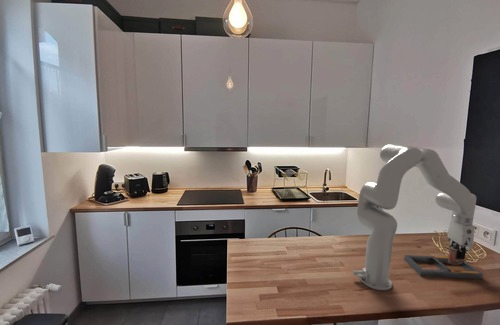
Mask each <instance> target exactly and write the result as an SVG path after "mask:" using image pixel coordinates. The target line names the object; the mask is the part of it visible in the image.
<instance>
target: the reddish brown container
mask: <svg viewBox="0 0 500 325" xmlns="http://www.w3.org/2000/svg"><path fill="white" fill-rule="evenodd" d="M462 248H464V246H462ZM449 249H450V253H449V254H448V255H449V256H448V257H449V260H448V263H447V264H450V265H453V266H454V265H455V266H457V265H459V264H462V263H464V261H465V259H457V251H459V244H458V243H456V242H455V243H453V246H452V247H450V246H449Z"/></svg>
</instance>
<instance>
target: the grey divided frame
mask: <svg viewBox="0 0 500 325" xmlns="http://www.w3.org/2000/svg"><path fill="white" fill-rule="evenodd" d="M403 260H404V261H405V262H406V263H407V264H408V265H409V266H410V267H411V268H412V269H413V270H414V271H415V272H416V273H417V274H418V275H419V276H420V277H434V278H451V279H452V278H454V279H472V280H478V279H479V280H483V277H484V273H482V272H481V271H480V270H478V269H477V268H476V267H474V266H472V265H471V264H470V263H468V262H467V261H466V260H464V263H462V264H458V265H459V266H461V267H462V268H464V269H465V270H458V269H457V270H453V269H450V268H448V267H447V266H446V265H445V264H449V263H448V260H449V256H447V255H445V256H442V255H440V256H439V255H434V256H433V255H415V254H414V255H413V254H411V255H409V254H404V257H403ZM417 262H418V263H432V264H433V265H434V266H435V267H437V268H438V269H425V268H422V267H421V266H420V265H419V264H418V263H417Z"/></svg>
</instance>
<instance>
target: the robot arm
mask: <svg viewBox="0 0 500 325" xmlns="http://www.w3.org/2000/svg"><path fill="white" fill-rule="evenodd" d="M379 156H380V159H381V161H383V162H384V163H385V164H384V165H382V167H381V169H380V170H379V173H378V177H377V181H368V182H366V183H364V184H363V186H361V189H360V192H359V196H358V201H357V202H358V203H357V209H356V219H357V221H358V222H359V223H360V224H361V225H362V226H364V227H365V228H367V229H369V230H370V231H371V233H370V235H369V236H368V237H367V240H366V247H365V249H366V250H365V260H364V267H362V269H360V270H356V269H355V270H352V275H353V276H357V278H358V279H359V280H360V281H361V282H362V284H364V285H365V286H366V287H369V288H371V289H372V290H376V291H388V290H390V289H391V288H392V287H393V281H392V280H391V278H390V270H391V261H392V259H391V258H392V251H393V242H394V238H395V235H396V232H397V230H398V222H397V220H396V217H394V216H393V215H391V214H390V213H388V212H386V211H384V210H388V211H389V210H393V209H394V208H396V207H397V204H398V200H399V195H400V190H401V186H402V185H401V184H402V180H403V178H404V176H405V175H406V173H408V172H409V171H410V170H411V169H412V168H414V167H415V168H418V169H419V171H420V172H421V174H422V176H423V177H424V179H425V181H426V183H427V184H428V185H430V187H432V188H433V189H435V190H438V191H439V192H440V193H438V194H437V195H436V196H435V200H434V201H435V203H436V205H437V206H439V207H440V208H442V209H446V210H448V211H452V213H451V219H450V221H449V224H448V226H449V227H448V230H447V235H446V237H447V238H448V241H449V251H448V253H449V254H450V247H452V246H453V243H455V242H456V243H458V244H459V251H457V259H464V260H465V258H466V253H467V252H468V251H472V250H473V248H472V247H473V245H474V238H475V229H474V225H473V224H474V217H475V210H476V204H477V196H476V195H475V194H473V193H471V191H470V189H468V188H467V187H466V186H465V185H464V184H463V183H461V182H460V181H459V180H458V179H456V178H455V177H453V176H452V175H451V174H450V173H449V172H448V170H447V168H446V167H445V165H444V163H443V161H442V159H441V158H440V155H439V154H438V153H437V152H436V151H435V150H433V149H431V148H425V147H415V146H410V145H402V144H401V145H400V144H393V143H392V144H386V145H385V146H383V147H382V148H381V149H380V152H379ZM382 209H383V210H382ZM462 246H464V248H462Z"/></svg>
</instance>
